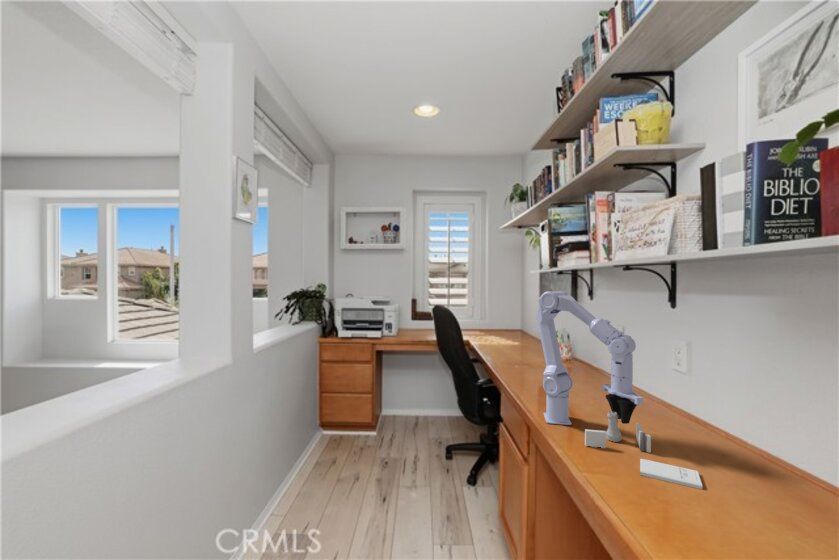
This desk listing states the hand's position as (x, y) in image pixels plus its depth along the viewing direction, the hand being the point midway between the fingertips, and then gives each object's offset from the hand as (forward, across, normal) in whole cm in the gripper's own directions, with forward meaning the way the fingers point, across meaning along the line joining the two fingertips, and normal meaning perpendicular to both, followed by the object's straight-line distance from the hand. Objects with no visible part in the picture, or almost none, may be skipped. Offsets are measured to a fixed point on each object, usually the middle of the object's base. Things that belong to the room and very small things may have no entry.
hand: (621, 421), depth 115 cm
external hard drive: (+6, +20, -3) cm, 22 cm away
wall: (+6, +5, -6) cm, 9 cm away
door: (+5, +4, +3) cm, 7 cm away
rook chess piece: (+6, 0, -2) cm, 6 cm away
